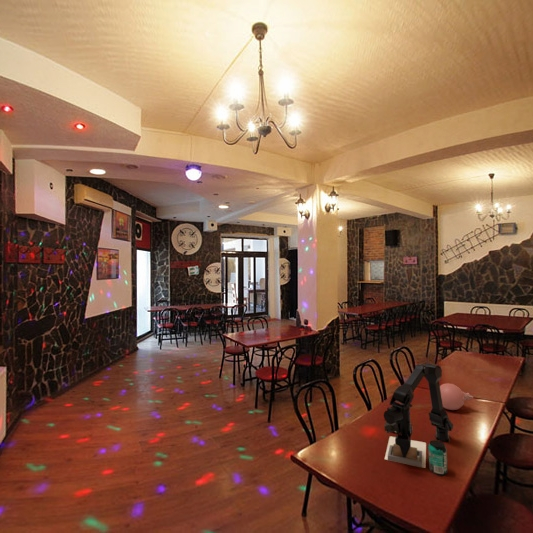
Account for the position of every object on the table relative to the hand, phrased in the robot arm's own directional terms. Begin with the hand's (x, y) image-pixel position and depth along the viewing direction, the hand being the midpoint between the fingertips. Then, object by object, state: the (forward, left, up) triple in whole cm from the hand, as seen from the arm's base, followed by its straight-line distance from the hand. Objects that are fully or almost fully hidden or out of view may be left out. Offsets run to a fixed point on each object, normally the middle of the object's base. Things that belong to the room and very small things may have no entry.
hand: (404, 452), depth 151 cm
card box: (0, 0, -3) cm, 3 cm away
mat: (-6, 0, -3) cm, 7 cm away
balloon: (-68, +24, -3) cm, 72 cm away
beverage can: (+5, +13, -3) cm, 15 cm away
